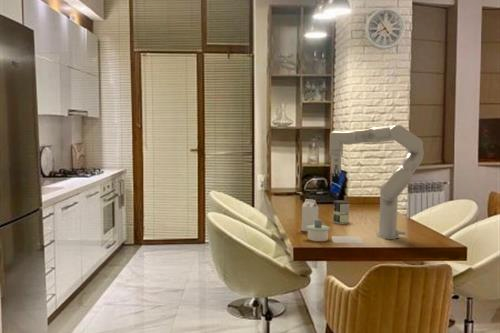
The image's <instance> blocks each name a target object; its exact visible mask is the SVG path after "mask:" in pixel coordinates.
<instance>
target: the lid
mask: <svg viewBox="0 0 500 333" xmlns="http://www.w3.org/2000/svg"><path fill="white" fill-rule="evenodd" d="M306 229H307V230H311V231H328V232H329V231H330V230H331V227H330V226H329V225H328V226H327V225H324V224H323V219H319V218H318V219H315V225H308V226H306Z"/></svg>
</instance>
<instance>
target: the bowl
mask: <svg viewBox="0 0 500 333" xmlns="http://www.w3.org/2000/svg"><path fill="white" fill-rule="evenodd" d="M307 240H309V241H313V242H314V241H315V242H325V241H328V240H329V230H328V231H311V230H308V231H307Z"/></svg>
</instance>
